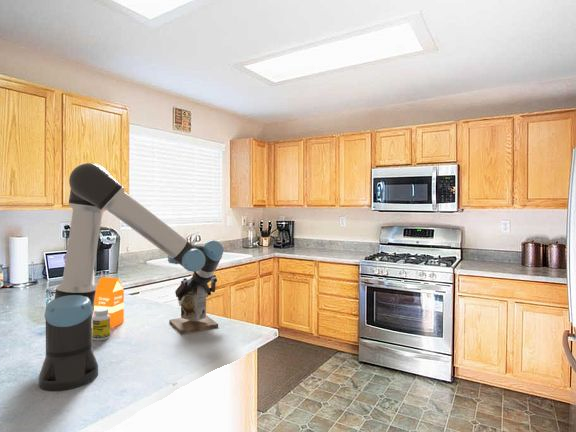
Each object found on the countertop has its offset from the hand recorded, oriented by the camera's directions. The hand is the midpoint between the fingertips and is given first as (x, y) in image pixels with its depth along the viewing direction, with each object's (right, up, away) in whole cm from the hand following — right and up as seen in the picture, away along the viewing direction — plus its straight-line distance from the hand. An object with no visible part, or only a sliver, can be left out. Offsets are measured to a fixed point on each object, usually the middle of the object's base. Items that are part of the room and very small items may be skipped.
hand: (191, 301), depth 159 cm
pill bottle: (-30, -10, -18) cm, 36 cm away
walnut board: (+2, -10, -2) cm, 10 cm away
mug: (-82, -7, +61) cm, 102 cm away
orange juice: (-35, -9, -1) cm, 36 cm away
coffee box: (+2, -7, -3) cm, 7 cm away
